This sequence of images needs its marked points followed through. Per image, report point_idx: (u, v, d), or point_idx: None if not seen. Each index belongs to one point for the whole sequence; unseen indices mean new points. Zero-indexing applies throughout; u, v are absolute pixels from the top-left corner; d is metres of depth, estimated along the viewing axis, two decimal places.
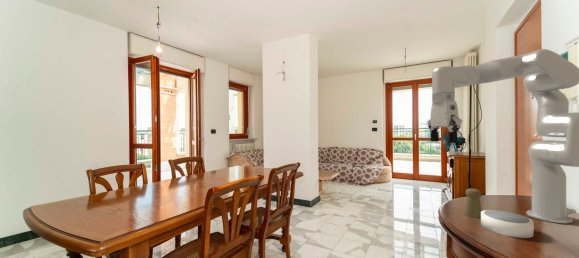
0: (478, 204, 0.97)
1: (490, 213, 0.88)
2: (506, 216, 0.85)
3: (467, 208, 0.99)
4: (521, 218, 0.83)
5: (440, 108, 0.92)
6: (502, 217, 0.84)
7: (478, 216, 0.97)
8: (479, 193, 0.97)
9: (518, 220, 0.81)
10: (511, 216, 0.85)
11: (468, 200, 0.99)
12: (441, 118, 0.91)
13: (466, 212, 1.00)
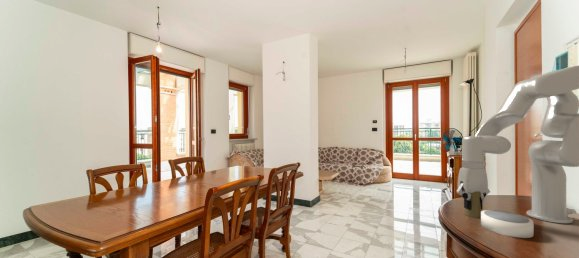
0: (478, 204, 0.97)
1: (490, 213, 0.88)
2: (506, 216, 0.85)
3: None
4: (521, 218, 0.83)
5: (481, 176, 0.97)
6: (502, 217, 0.84)
7: (478, 216, 0.97)
8: (479, 193, 0.97)
9: (518, 220, 0.81)
10: (511, 216, 0.85)
11: None
12: (482, 185, 0.97)
13: (466, 212, 1.00)
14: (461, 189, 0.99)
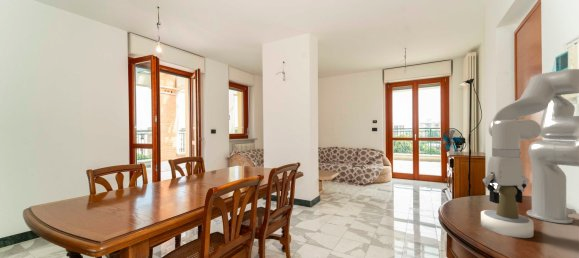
0: (514, 203, 0.83)
1: (490, 213, 0.88)
2: None
3: (500, 207, 0.85)
4: (521, 218, 0.83)
5: (516, 166, 0.83)
6: (502, 217, 0.84)
7: (514, 217, 0.83)
8: (515, 190, 0.83)
9: (518, 220, 0.81)
10: None
11: (501, 198, 0.85)
12: (517, 177, 0.83)
13: (499, 212, 0.86)
14: (491, 177, 0.85)
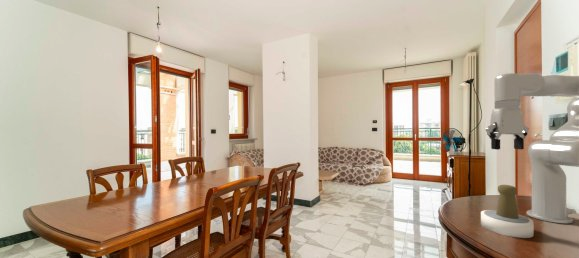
0: (514, 203, 0.83)
1: (490, 213, 0.88)
2: None
3: (500, 207, 0.85)
4: (521, 218, 0.83)
5: (517, 115, 0.91)
6: (502, 217, 0.84)
7: (514, 217, 0.83)
8: (515, 190, 0.83)
9: (518, 220, 0.81)
10: None
11: (501, 198, 0.85)
12: (518, 125, 0.91)
13: (499, 212, 0.86)
14: (494, 125, 0.92)
